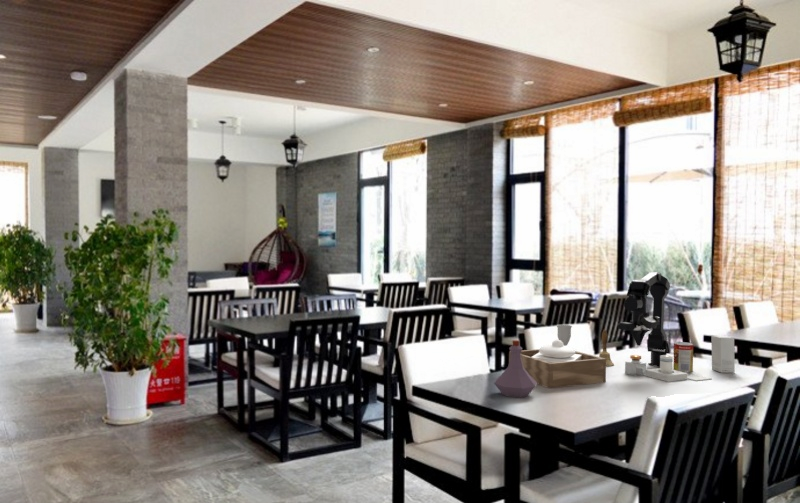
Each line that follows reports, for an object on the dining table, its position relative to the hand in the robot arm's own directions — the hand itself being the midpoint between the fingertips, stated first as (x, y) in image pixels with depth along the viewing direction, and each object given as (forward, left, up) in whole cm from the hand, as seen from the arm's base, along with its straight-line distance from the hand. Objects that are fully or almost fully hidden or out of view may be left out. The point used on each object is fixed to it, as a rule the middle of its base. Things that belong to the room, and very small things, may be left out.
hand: (638, 345), depth 264 cm
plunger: (-1, -1, -12) cm, 12 cm away
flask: (+9, -70, -13) cm, 71 cm away
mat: (+15, +17, -12) cm, 25 cm away
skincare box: (+9, +40, -13) cm, 43 cm away
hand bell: (-22, +1, -13) cm, 25 cm away
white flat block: (+9, +6, -12) cm, 17 cm away
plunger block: (-1, -1, -12) cm, 12 cm away
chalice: (-29, -17, -13) cm, 36 cm away
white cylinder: (+9, +6, -12) cm, 17 cm away
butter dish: (-8, -38, -12) cm, 40 cm away
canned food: (+1, +25, -13) cm, 28 cm away
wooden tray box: (-8, -38, -12) cm, 40 cm away
